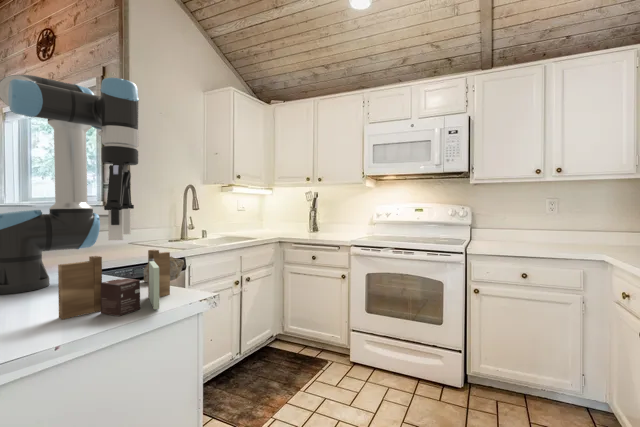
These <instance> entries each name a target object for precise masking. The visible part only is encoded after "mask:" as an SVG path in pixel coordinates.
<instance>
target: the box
mask: <svg viewBox="0 0 640 427" xmlns="http://www.w3.org/2000/svg"><path fill="white" fill-rule="evenodd" d="M140 309H141V280H140V279H135V278H127V277H126V278H123V277H122V278H117V279H112V280H107V281H104V282H103V281H102V283H101V311H100V314H102V315H103V314H104V315H109V316H116V317H121V316H123V315H128V314H129V313H133V312H136V311H138V310H140Z"/></svg>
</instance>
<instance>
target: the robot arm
mask: <svg viewBox="0 0 640 427" xmlns="http://www.w3.org/2000/svg"><path fill="white" fill-rule="evenodd" d="M99 90H100V95H96V94H95V93H94V92H93V91H92V90H91V89H90V88H88V87H84V86H81V85H78V84H76V83H74V84H73V83H68V82H64V81H59V80H55V79H51V78H50V79H49V78H45V77H42V76H38V75H31V74H12V75H7V76H5V77H3V78H1V79H0V100H1V102H3V103H4V104H5V105H6V106H8V107H9V111H10V112H12V113H13V114H15V115H19V116H20V115H21V116H25V117H29V118H39V119H46V120H47V124H48V125H49V126H50V127H51V128H52V129H53V148H54V149H53V150H54V151H53V152H54V154H53V155H54V204H53V205H52V206H50V207H49V210H48V211H49V212H48V213H43V212H42V210H41V209H30V210H27V209H26V210H18V211H10V212H3V213H2V212H1V213H0V295H8V294H19V293H25V292H26V293H27V292H31V291H36V290H41V289H43V288H47V287H49V286H50V276H49V274H48V272H47V269H46V267H45V264H44V262H43V252H52V251H53V252H54V251H64V250H65V251H66V250H80V249H87V248H88V249H89V248H91V247H93V246H95V244H96V243H97V241H98V238H99V234H100V229H101V220H100V215H99V214H98V213H95V212H94V207H93V206H91V205H90V204H89V203H88V173H87V172H88V168H87V166H88V164H87V163H88V162H87V161H88V160H87V132H88V131H90V130H91V129H92V128H94V129H96V130H101V131H98V135H99V136H100V137H101V144H102V145H104V146H102V147H101V163H103V164H107V165H109V166H108V170H109V173H108V175H109V176H108V183H107V184H108V187H107V195H106V197H107V198H106V205H104V206H103V210H104V211H108V213H107V214H108V220H107V221H108V224H107V225H108V233H107V234H108V237H107V238H108V241H123V240H124V235H131V234H132V230H131V229H132V227H131V226H132V224H131V223H132V214H131V213H132V212H131V209H134V208H135V205H134V204H133V203H132V196H131V195H132V194H131V193H132V192H131V177H132V176H131V175H132V173H131V170H130V169H128V166H137V165H138V164H139V150H138V149H137V148H138V147H139V143H140V142H139V140H140V139H139V133H140V132H139V131H140V130H139V101H140V99H139V90H138V86H137V85H136V84H135V82H133V81H131V80H128V79H123V78H119V77H106V78H103V79H102V81H101V86H100V89H99Z"/></svg>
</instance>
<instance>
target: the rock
mask: <svg viewBox="0 0 640 427" xmlns="http://www.w3.org/2000/svg"><path fill="white" fill-rule="evenodd" d="M184 265H185V261H184V259H180V258H175V257H173V256H172V255H170V282H171V281H174V280H176V279H178V278H179V277H180V276H181V272H182V270H183V266H184ZM143 282H144V283H148V264H146V266H144V268H143Z"/></svg>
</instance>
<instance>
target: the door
mask: <svg viewBox="0 0 640 427" xmlns="http://www.w3.org/2000/svg"><path fill="white" fill-rule="evenodd" d="M148 301H149V302H150V304H151V306H152V309H153V310H159V309H160V297H159V267H158V265H157V264H156V263H155V262H154V259H149V297H148Z"/></svg>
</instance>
